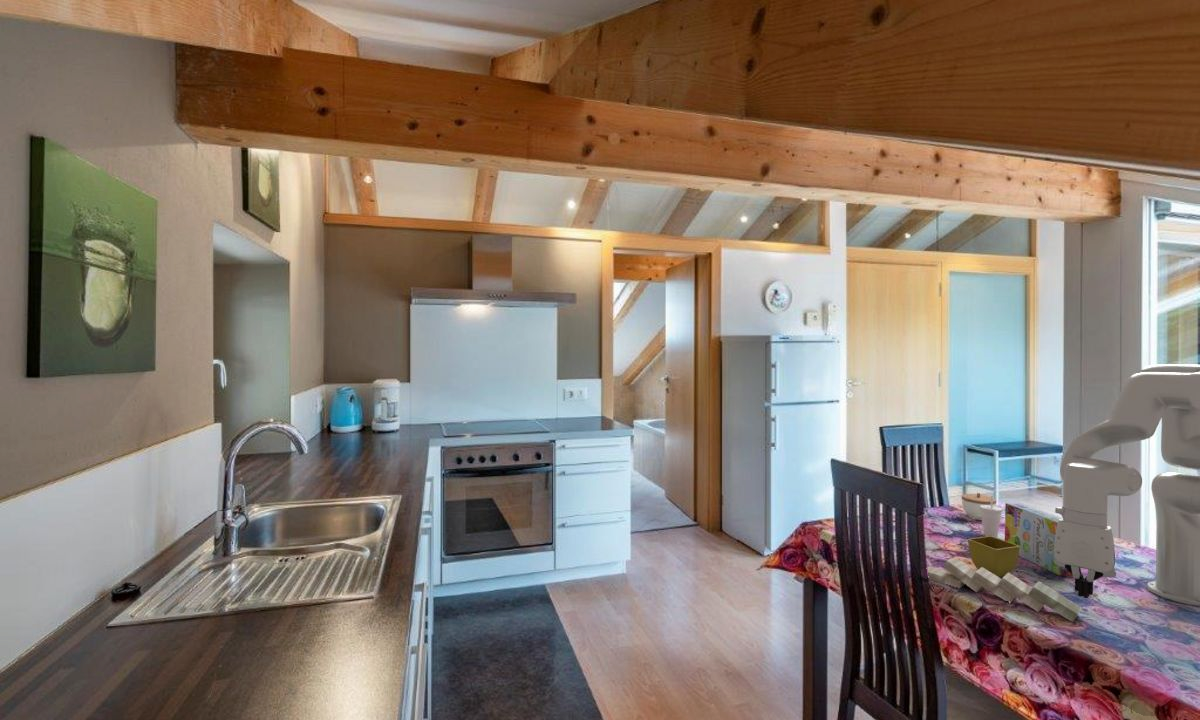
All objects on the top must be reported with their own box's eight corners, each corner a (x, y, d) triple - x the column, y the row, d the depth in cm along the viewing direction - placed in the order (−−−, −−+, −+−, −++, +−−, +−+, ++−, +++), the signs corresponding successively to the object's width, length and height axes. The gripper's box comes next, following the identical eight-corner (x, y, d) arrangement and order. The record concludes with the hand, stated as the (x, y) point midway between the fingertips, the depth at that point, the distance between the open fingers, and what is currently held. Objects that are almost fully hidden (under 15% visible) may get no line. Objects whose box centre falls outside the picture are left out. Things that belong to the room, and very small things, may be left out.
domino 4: (1049, 598, 129) (1008, 572, 136) (1043, 604, 126) (1002, 577, 133) (1043, 606, 130) (1003, 579, 137) (1038, 612, 127) (997, 584, 134)
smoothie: (983, 537, 178) (984, 496, 178) (976, 531, 185) (976, 491, 184) (1005, 539, 177) (1006, 498, 176) (997, 533, 183) (998, 493, 183)
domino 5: (1082, 608, 125) (1038, 581, 131) (1078, 614, 122) (1033, 586, 128) (1077, 615, 126) (1033, 588, 132) (1072, 622, 122) (1028, 594, 129)
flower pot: (996, 582, 144) (996, 549, 144) (966, 569, 153) (966, 538, 152) (1020, 578, 147) (1020, 546, 146) (989, 566, 155) (990, 535, 155)
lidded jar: (1001, 519, 198) (1001, 494, 198) (987, 524, 193) (987, 498, 193) (970, 512, 208) (970, 488, 207) (955, 516, 202) (955, 491, 202)
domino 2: (989, 581, 139) (955, 557, 146) (981, 585, 137) (946, 560, 143) (984, 588, 140) (950, 563, 147) (976, 592, 137) (942, 567, 144)
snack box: (1079, 576, 147) (1080, 523, 147) (1059, 576, 148) (1059, 523, 147) (1020, 548, 169) (1021, 501, 168) (1002, 548, 169) (1003, 501, 169)
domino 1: (967, 576, 143) (930, 566, 150) (960, 581, 140) (923, 570, 147) (966, 585, 143) (930, 574, 150) (960, 590, 140) (923, 579, 147)
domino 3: (1020, 590, 134) (982, 567, 140) (1014, 596, 131) (975, 571, 137) (1016, 598, 135) (977, 574, 141) (1010, 603, 132) (971, 579, 138)
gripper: (1039, 512, 126) (1038, 589, 126) (1127, 529, 114) (1126, 613, 115) (1047, 507, 131) (1046, 580, 131) (1132, 522, 119) (1131, 602, 119)
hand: (1083, 595), depth 123 cm, fingers closed
